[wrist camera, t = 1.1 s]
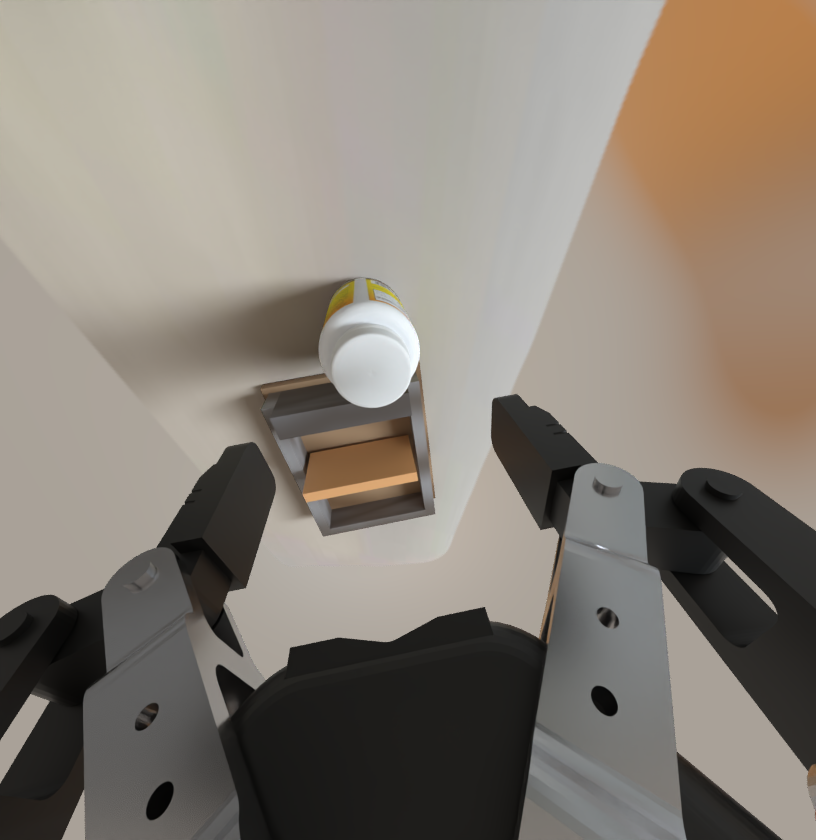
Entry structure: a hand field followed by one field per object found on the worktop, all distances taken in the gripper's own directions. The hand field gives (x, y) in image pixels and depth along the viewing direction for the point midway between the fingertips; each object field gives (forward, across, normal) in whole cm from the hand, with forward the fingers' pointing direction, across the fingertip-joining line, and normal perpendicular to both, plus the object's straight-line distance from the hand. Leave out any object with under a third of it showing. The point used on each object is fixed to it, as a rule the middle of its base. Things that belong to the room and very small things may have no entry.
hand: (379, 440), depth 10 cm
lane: (+15, +3, +13) cm, 20 cm away
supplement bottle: (+16, 0, 0) cm, 16 cm away
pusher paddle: (+14, +3, +11) cm, 18 cm away
